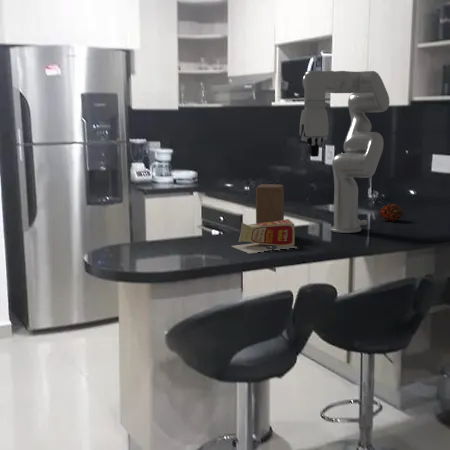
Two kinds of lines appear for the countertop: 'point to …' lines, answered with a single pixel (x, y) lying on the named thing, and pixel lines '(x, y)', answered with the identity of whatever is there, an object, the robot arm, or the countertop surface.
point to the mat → (259, 247)
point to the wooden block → (269, 203)
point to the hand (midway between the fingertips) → (314, 156)
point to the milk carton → (269, 233)
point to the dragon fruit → (390, 212)
